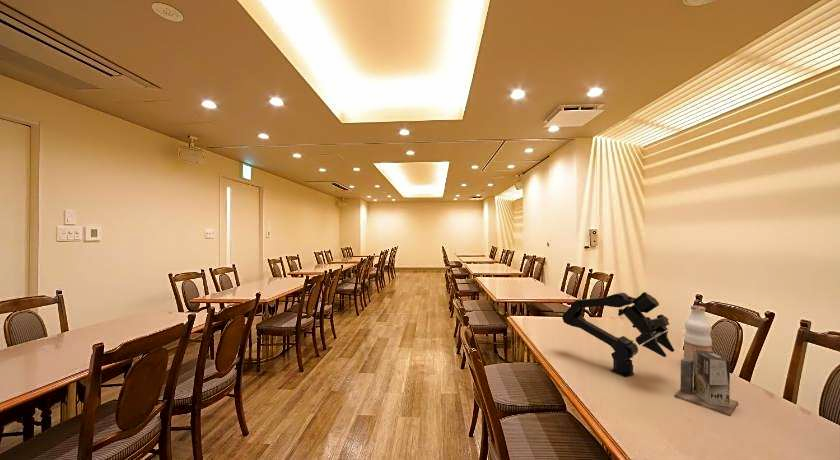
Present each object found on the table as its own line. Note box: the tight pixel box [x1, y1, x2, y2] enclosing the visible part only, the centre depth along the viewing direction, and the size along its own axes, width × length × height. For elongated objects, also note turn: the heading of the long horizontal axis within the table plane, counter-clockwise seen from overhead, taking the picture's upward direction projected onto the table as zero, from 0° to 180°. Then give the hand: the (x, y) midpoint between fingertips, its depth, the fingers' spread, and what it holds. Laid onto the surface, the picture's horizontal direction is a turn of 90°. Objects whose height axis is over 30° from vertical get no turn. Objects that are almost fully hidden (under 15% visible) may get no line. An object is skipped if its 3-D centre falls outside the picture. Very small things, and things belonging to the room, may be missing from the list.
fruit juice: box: [683, 305, 713, 372], centre depth 143 cm, size 9×9×28 cm
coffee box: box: [693, 351, 731, 407], centre depth 115 cm, size 9×6×16 cm
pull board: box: [674, 357, 739, 417], centre depth 116 cm, size 15×13×13 cm
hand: (669, 354), depth 125 cm, fingers open, 9 cm apart
